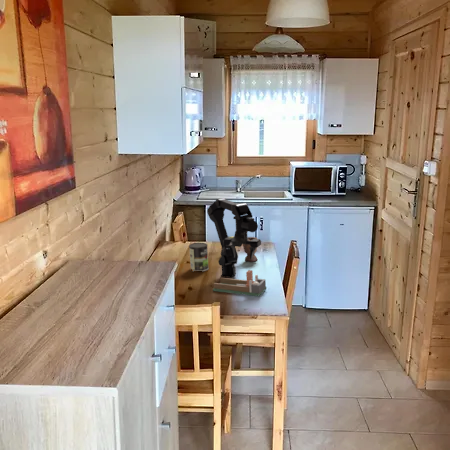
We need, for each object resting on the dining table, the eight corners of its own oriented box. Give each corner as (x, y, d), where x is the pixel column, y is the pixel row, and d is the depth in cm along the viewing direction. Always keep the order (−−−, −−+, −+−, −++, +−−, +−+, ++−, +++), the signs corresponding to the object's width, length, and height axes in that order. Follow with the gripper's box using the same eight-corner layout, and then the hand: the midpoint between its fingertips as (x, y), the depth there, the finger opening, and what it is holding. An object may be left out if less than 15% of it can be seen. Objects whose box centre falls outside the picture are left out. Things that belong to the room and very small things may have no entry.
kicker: (234, 289, 239) (233, 271, 237) (239, 285, 244) (238, 268, 242) (249, 291, 236) (249, 273, 234) (254, 286, 241) (253, 269, 239)
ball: (260, 287, 234) (255, 292, 236) (262, 284, 238) (258, 289, 239) (253, 281, 235) (249, 287, 237) (256, 278, 238) (252, 284, 240)
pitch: (213, 290, 241) (212, 277, 240) (222, 283, 251) (221, 270, 249) (258, 296, 232) (258, 282, 230) (266, 288, 241) (266, 274, 240)
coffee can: (212, 267, 277) (210, 243, 274) (201, 273, 268) (200, 248, 265) (197, 265, 282) (196, 241, 279) (186, 270, 274) (185, 246, 271)
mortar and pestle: (242, 264, 280) (241, 230, 276) (236, 260, 288) (235, 227, 283) (260, 260, 285) (259, 227, 280) (253, 257, 292) (252, 224, 288)
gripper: (217, 231, 241) (219, 261, 244) (253, 233, 233) (254, 264, 237) (226, 226, 251) (228, 255, 254) (261, 228, 243) (261, 258, 247)
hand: (242, 258), depth 248 cm, fingers open, 9 cm apart
